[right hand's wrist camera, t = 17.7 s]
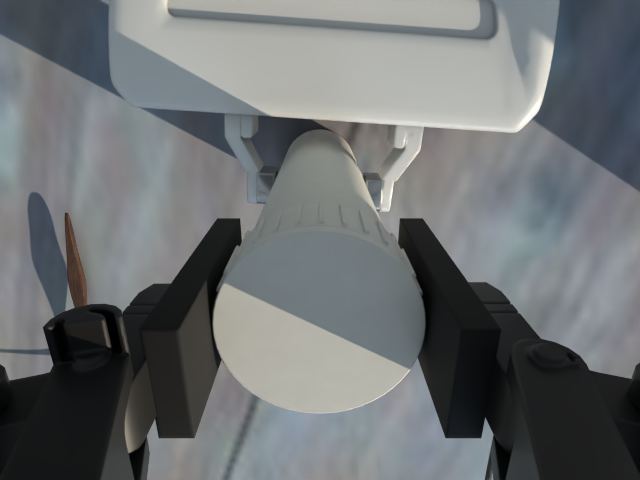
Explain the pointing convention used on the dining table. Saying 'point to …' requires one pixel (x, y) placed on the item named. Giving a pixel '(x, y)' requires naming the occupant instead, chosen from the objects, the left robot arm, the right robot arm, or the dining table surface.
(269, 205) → the white plastic cylinder
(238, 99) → the left robot arm
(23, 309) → the dining table surface
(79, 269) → the fork
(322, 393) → the lid
